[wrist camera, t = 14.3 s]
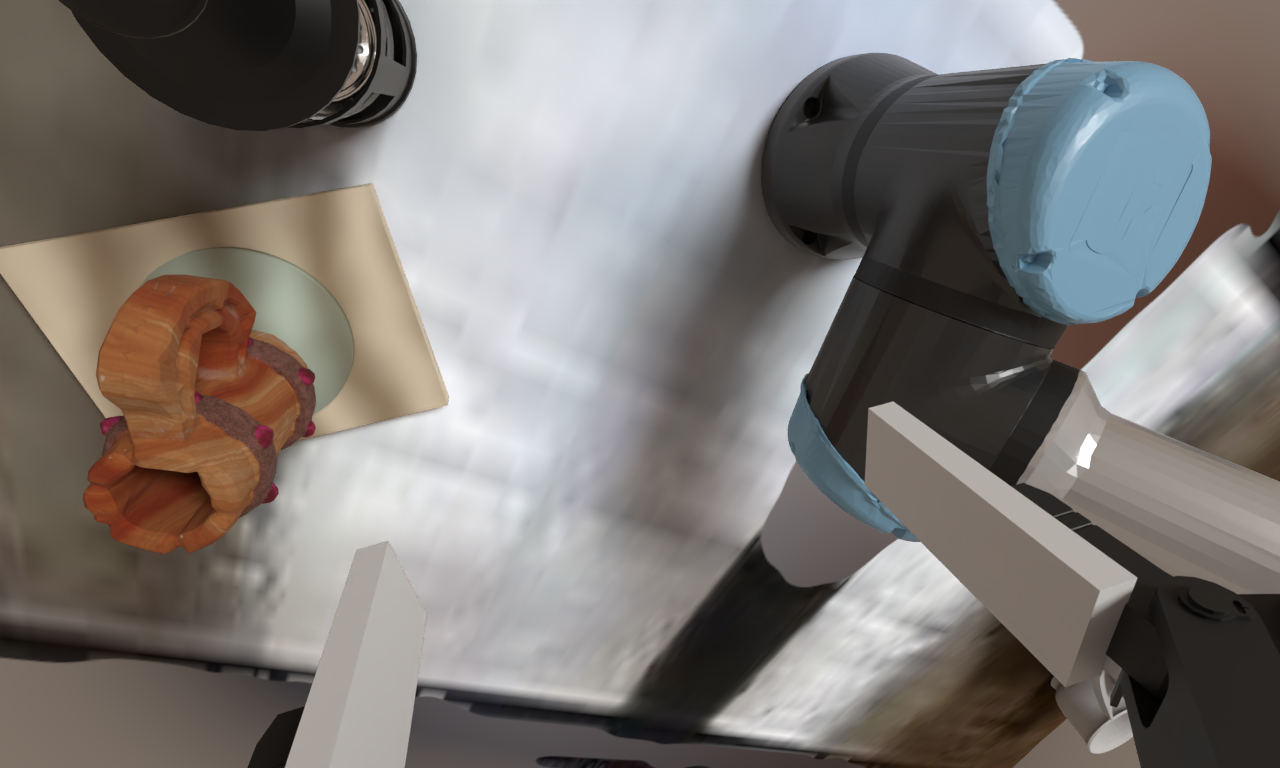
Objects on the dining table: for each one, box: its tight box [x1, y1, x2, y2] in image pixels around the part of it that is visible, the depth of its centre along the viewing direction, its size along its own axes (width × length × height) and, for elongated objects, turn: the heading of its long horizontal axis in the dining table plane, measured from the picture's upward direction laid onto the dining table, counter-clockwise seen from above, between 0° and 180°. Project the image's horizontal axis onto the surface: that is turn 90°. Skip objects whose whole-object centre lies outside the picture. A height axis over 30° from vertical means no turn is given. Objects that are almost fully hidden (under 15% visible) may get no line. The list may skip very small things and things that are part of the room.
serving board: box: [0, 183, 449, 441], centre depth 38 cm, size 22×17×2 cm
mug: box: [83, 275, 316, 554], centre depth 31 cm, size 15×8×15 cm, turn 167°
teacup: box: [1051, 676, 1133, 754], centre depth 93 cm, size 12×15×10 cm
